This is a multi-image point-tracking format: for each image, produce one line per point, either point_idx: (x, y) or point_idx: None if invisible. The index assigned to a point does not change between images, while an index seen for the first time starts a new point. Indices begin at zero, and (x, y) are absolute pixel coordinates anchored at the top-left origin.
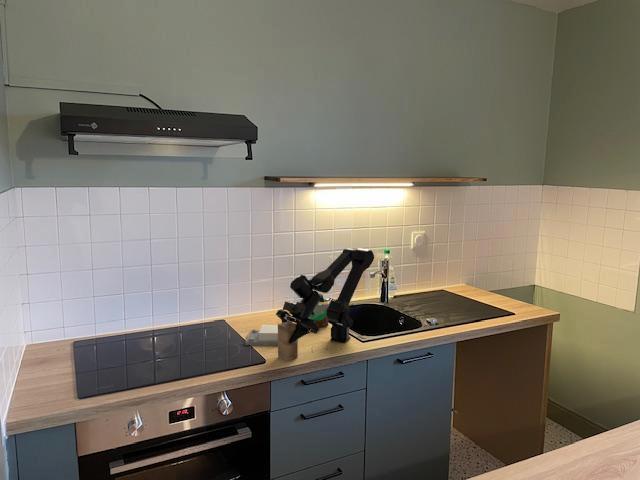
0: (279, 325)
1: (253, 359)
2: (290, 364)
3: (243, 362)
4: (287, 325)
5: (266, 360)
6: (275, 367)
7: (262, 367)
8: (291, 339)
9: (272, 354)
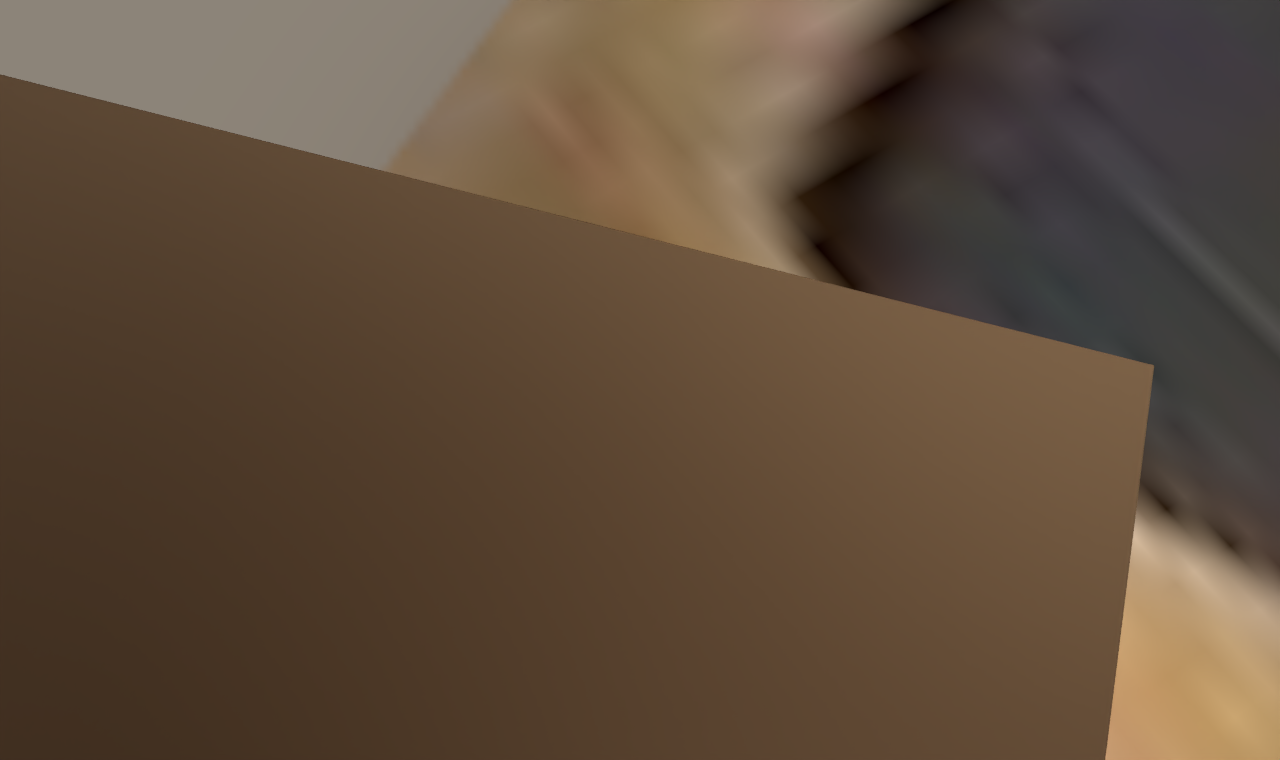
0: (863, 319)
1: (1108, 242)
2: None
3: (1149, 37)
4: (12, 570)
5: None
6: (456, 151)
7: (679, 34)
8: None
9: None
